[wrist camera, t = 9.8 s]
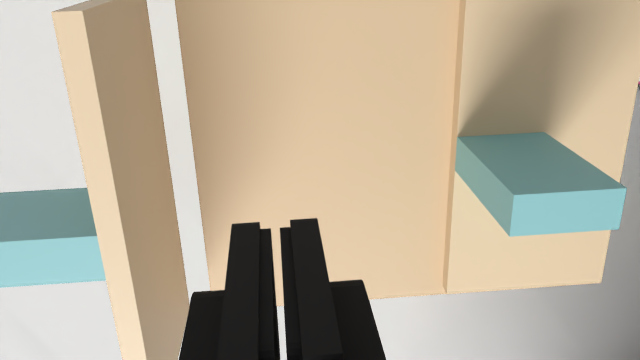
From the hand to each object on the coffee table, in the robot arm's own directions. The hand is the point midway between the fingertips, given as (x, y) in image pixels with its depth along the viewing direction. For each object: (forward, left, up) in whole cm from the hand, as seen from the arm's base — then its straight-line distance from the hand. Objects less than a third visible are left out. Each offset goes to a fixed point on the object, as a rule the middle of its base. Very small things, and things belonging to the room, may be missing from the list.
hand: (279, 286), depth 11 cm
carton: (0, -4, -21) cm, 21 cm away
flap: (0, +4, -5) cm, 6 cm away
